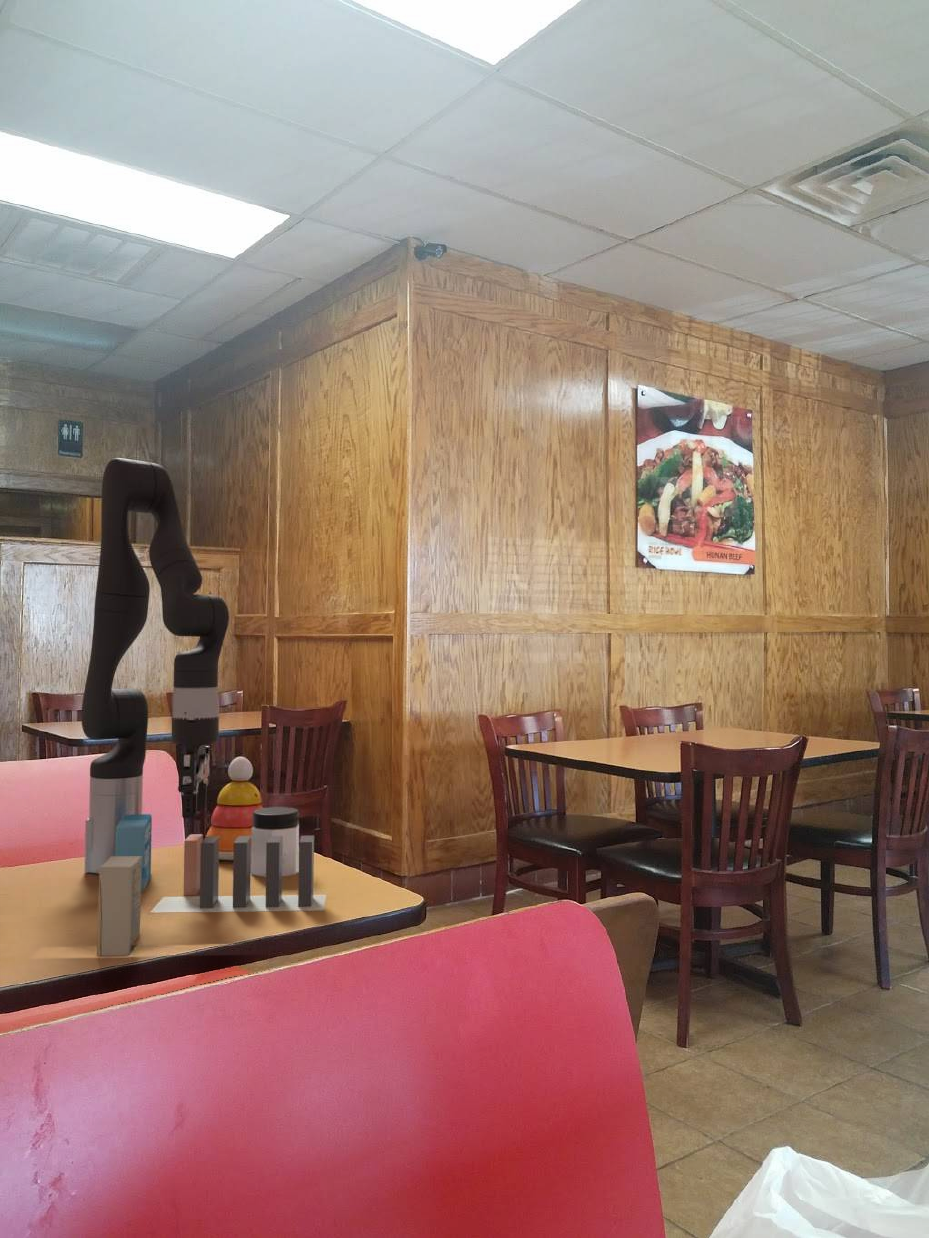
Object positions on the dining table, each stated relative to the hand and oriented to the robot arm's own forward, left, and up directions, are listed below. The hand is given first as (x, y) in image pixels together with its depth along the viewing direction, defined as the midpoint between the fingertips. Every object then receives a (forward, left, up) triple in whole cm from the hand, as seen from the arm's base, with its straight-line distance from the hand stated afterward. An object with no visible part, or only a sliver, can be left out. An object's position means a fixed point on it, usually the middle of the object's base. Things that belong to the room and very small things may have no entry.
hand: (194, 813), depth 158 cm
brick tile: (0, 0, -14) cm, 14 cm away
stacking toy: (+3, +31, -14) cm, 34 cm away
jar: (+12, +13, -14) cm, 23 cm away
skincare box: (-5, -26, -14) cm, 30 cm away
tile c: (+9, -8, -13) cm, 17 cm away
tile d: (+14, -8, -13) cm, 20 cm away
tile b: (+4, -8, -13) cm, 15 cm away
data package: (-11, +6, -14) cm, 19 cm away
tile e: (+19, -8, -13) cm, 24 cm away
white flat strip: (+9, -8, -14) cm, 18 cm away
